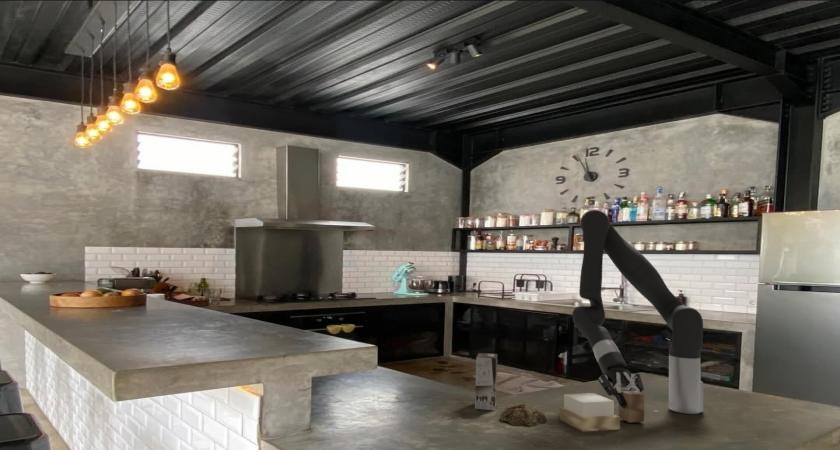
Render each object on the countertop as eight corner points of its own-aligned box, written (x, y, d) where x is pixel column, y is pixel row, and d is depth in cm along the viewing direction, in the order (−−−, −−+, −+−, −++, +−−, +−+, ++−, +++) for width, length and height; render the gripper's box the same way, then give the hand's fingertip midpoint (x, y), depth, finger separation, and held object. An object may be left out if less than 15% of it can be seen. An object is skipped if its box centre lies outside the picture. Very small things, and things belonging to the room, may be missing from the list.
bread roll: (516, 413, 175) (517, 396, 175) (551, 421, 166) (552, 404, 166) (490, 420, 166) (491, 403, 166) (526, 430, 157) (526, 411, 157)
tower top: (593, 406, 170) (593, 392, 171) (614, 415, 161) (614, 401, 161) (563, 408, 167) (564, 394, 168) (583, 417, 158) (583, 402, 158)
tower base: (595, 419, 171) (595, 405, 171) (619, 431, 159) (620, 416, 160) (559, 421, 168) (559, 407, 168) (582, 433, 156) (582, 418, 156)
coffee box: (495, 410, 175) (496, 357, 176) (474, 409, 176) (475, 356, 177) (497, 403, 184) (498, 353, 185) (477, 402, 185) (478, 352, 186)
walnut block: (633, 416, 171) (633, 389, 171) (644, 421, 166) (644, 393, 166) (618, 417, 169) (618, 390, 170) (629, 422, 164) (629, 394, 165)
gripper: (594, 351, 175) (617, 400, 162) (633, 349, 179) (660, 398, 166) (584, 365, 179) (606, 414, 167) (623, 363, 183) (648, 411, 171)
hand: (633, 405), depth 167 cm, fingers closed on walnut block, 5 cm apart
